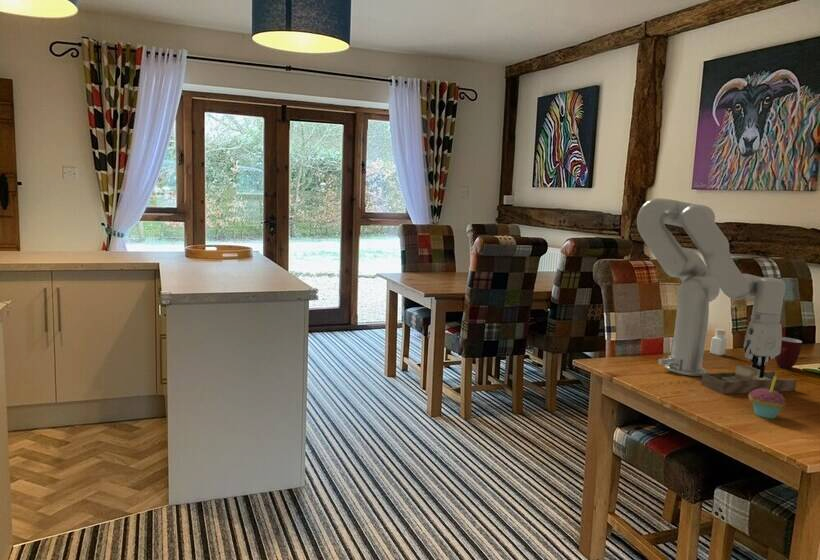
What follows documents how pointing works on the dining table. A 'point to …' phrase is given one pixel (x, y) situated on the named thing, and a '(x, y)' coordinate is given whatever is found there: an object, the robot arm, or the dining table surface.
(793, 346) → the mug
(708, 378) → the tray
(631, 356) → the dining table surface
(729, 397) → the dining table surface
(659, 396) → the dining table surface
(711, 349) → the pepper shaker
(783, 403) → the cupcake
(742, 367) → the birch block
